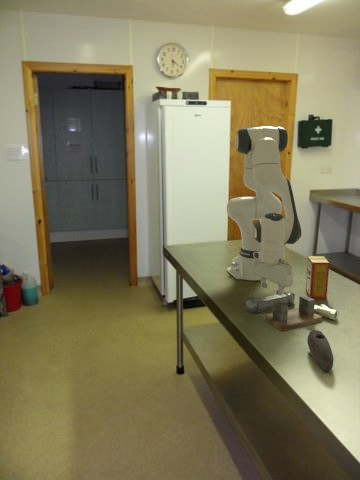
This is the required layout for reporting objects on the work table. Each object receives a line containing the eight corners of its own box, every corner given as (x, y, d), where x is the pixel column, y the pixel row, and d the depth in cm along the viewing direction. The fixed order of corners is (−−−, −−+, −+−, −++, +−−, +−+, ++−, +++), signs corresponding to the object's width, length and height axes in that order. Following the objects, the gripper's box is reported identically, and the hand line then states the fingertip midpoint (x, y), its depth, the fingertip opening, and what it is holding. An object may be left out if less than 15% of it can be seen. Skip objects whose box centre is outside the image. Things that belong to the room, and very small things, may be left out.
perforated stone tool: (338, 377, 101) (340, 354, 100) (318, 376, 102) (319, 354, 100) (323, 349, 116) (324, 328, 114) (305, 348, 116) (307, 328, 115)
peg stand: (264, 319, 136) (264, 300, 135) (302, 310, 143) (303, 292, 142) (281, 331, 127) (282, 310, 126) (322, 320, 134) (323, 301, 133)
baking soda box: (326, 299, 153) (329, 261, 150) (310, 298, 154) (312, 261, 151) (321, 290, 163) (323, 255, 159) (305, 290, 163) (307, 255, 160)
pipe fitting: (318, 311, 144) (311, 315, 139) (319, 301, 143) (312, 305, 138) (339, 316, 139) (333, 321, 134) (341, 306, 138) (334, 311, 133)
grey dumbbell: (243, 310, 145) (244, 300, 144) (289, 300, 153) (289, 291, 152) (250, 314, 141) (250, 304, 140) (296, 304, 149) (297, 294, 148)
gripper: (298, 262, 134) (296, 298, 137) (263, 250, 152) (262, 282, 155) (283, 264, 131) (282, 301, 134) (250, 252, 149) (249, 284, 152)
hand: (271, 291), depth 145 cm, fingers open, 8 cm apart
